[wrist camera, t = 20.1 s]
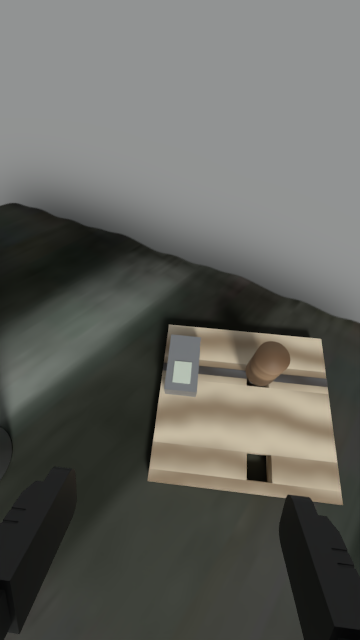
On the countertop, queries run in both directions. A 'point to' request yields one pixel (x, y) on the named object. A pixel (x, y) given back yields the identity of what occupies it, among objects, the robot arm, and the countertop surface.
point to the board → (248, 421)
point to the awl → (267, 364)
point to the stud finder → (183, 366)
